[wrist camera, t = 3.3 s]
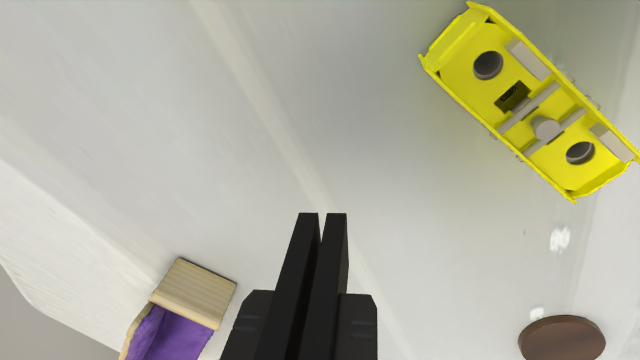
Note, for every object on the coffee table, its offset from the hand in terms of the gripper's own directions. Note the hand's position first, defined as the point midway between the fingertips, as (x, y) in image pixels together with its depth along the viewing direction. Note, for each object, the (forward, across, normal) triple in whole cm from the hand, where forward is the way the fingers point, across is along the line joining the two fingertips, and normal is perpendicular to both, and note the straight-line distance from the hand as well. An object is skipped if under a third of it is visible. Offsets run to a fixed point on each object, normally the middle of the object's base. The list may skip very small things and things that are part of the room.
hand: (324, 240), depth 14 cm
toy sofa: (+20, -24, -30) cm, 43 cm away
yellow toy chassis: (+20, +13, 0) cm, 24 cm away
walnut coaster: (+19, +24, -31) cm, 44 cm away
